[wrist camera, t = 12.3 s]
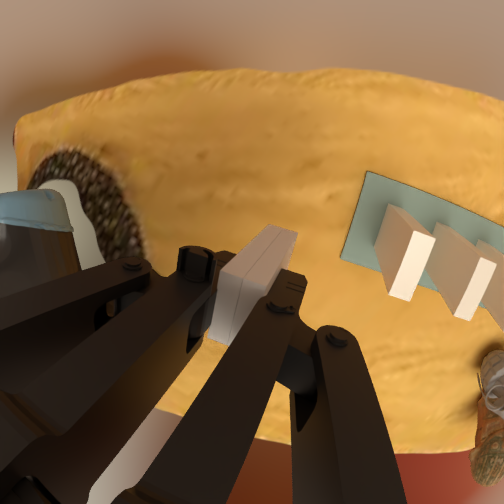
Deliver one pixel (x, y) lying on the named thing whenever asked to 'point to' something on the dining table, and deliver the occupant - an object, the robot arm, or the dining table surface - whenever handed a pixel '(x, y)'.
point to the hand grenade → (493, 380)
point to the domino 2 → (458, 271)
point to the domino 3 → (494, 284)
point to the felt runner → (421, 209)
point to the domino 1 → (402, 251)
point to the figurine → (488, 446)
